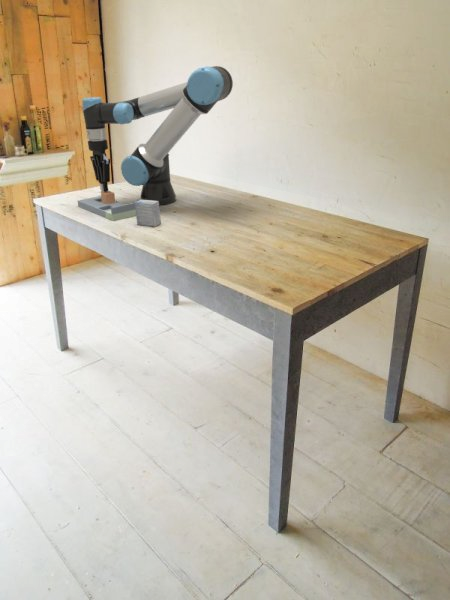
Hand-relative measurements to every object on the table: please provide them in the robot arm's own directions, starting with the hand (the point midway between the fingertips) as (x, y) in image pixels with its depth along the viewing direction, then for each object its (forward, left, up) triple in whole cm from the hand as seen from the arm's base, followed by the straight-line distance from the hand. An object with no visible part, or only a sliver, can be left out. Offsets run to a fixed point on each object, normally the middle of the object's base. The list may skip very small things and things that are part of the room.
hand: (105, 198), depth 208 cm
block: (-2, +2, -1) cm, 3 cm away
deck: (-2, +5, -4) cm, 7 cm away
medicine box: (-25, +22, -4) cm, 34 cm away
